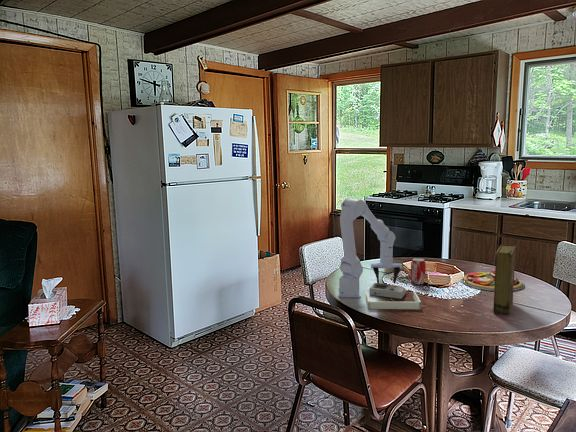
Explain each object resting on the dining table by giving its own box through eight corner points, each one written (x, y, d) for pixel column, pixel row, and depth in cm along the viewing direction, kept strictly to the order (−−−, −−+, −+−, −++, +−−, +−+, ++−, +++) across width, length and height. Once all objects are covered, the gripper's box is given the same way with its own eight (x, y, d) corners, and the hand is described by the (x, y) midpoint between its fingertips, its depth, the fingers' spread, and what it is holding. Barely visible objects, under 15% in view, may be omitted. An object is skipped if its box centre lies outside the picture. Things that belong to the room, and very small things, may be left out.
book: (498, 301, 188) (501, 244, 184) (512, 303, 185) (516, 245, 182) (493, 313, 175) (496, 252, 171) (508, 316, 172) (511, 253, 168)
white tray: (368, 308, 184) (368, 301, 183) (365, 297, 197) (365, 291, 196) (421, 309, 181) (421, 302, 181) (415, 298, 195) (415, 291, 194)
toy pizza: (507, 274, 226) (507, 266, 225) (536, 292, 199) (536, 283, 198) (452, 276, 227) (453, 267, 226) (474, 293, 199) (474, 284, 199)
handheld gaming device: (401, 300, 194) (401, 291, 193) (369, 295, 201) (369, 287, 200) (406, 294, 202) (406, 286, 201) (374, 290, 208) (375, 282, 208)
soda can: (426, 285, 211) (426, 261, 209) (411, 285, 213) (411, 261, 211) (424, 281, 218) (425, 257, 216) (410, 280, 220) (410, 257, 218)
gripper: (400, 253, 212) (400, 280, 214) (370, 253, 214) (370, 280, 216) (402, 256, 205) (402, 284, 207) (371, 256, 207) (371, 284, 209)
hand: (386, 282), depth 211 cm, fingers open, 7 cm apart
